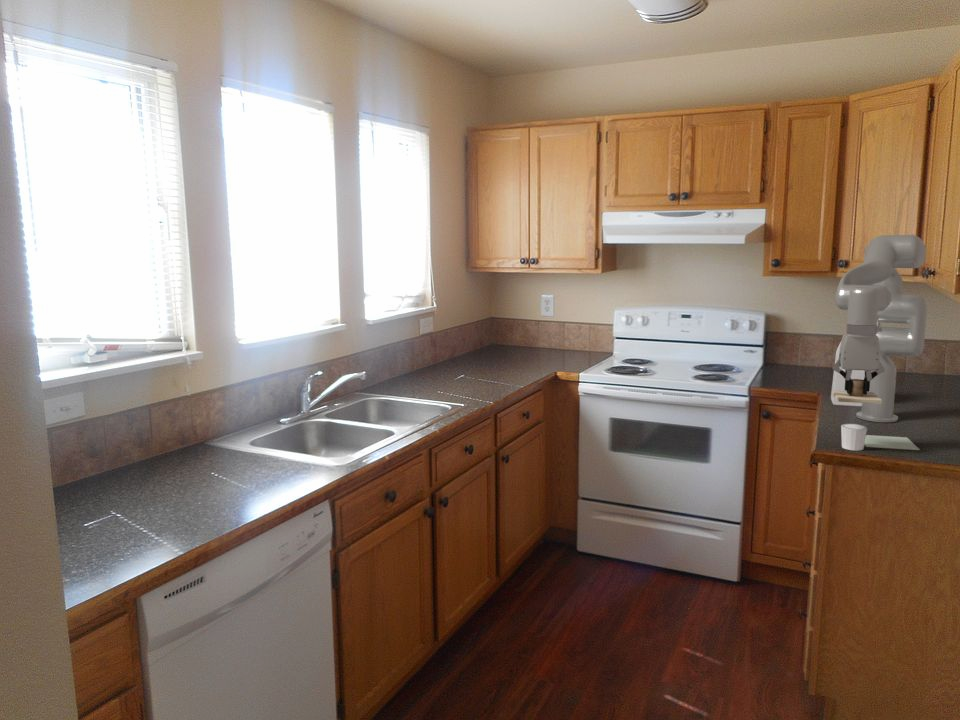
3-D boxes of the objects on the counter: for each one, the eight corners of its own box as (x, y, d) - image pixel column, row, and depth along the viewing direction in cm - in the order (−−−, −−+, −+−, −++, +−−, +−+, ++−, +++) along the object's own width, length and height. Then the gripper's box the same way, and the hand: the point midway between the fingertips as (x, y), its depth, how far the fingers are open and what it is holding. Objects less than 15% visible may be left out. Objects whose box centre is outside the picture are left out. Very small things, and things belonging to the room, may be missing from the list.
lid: (832, 394, 214) (833, 376, 213) (873, 395, 211) (874, 377, 210) (838, 401, 204) (840, 382, 203) (881, 403, 200) (883, 384, 199)
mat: (856, 436, 224) (856, 434, 224) (907, 439, 220) (907, 437, 219) (866, 448, 210) (866, 446, 210) (920, 451, 206) (920, 450, 206)
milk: (833, 404, 267) (837, 335, 262) (830, 398, 277) (835, 331, 273) (869, 406, 262) (874, 336, 258) (865, 400, 273) (870, 332, 269)
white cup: (842, 444, 214) (844, 422, 213) (868, 448, 210) (869, 425, 209) (836, 450, 209) (838, 426, 208) (862, 454, 205) (864, 430, 204)
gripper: (890, 329, 205) (885, 392, 208) (827, 328, 210) (823, 389, 213) (897, 332, 198) (891, 397, 201) (831, 331, 203) (827, 394, 206)
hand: (856, 392), depth 207 cm, fingers closed on lid, 3 cm apart
